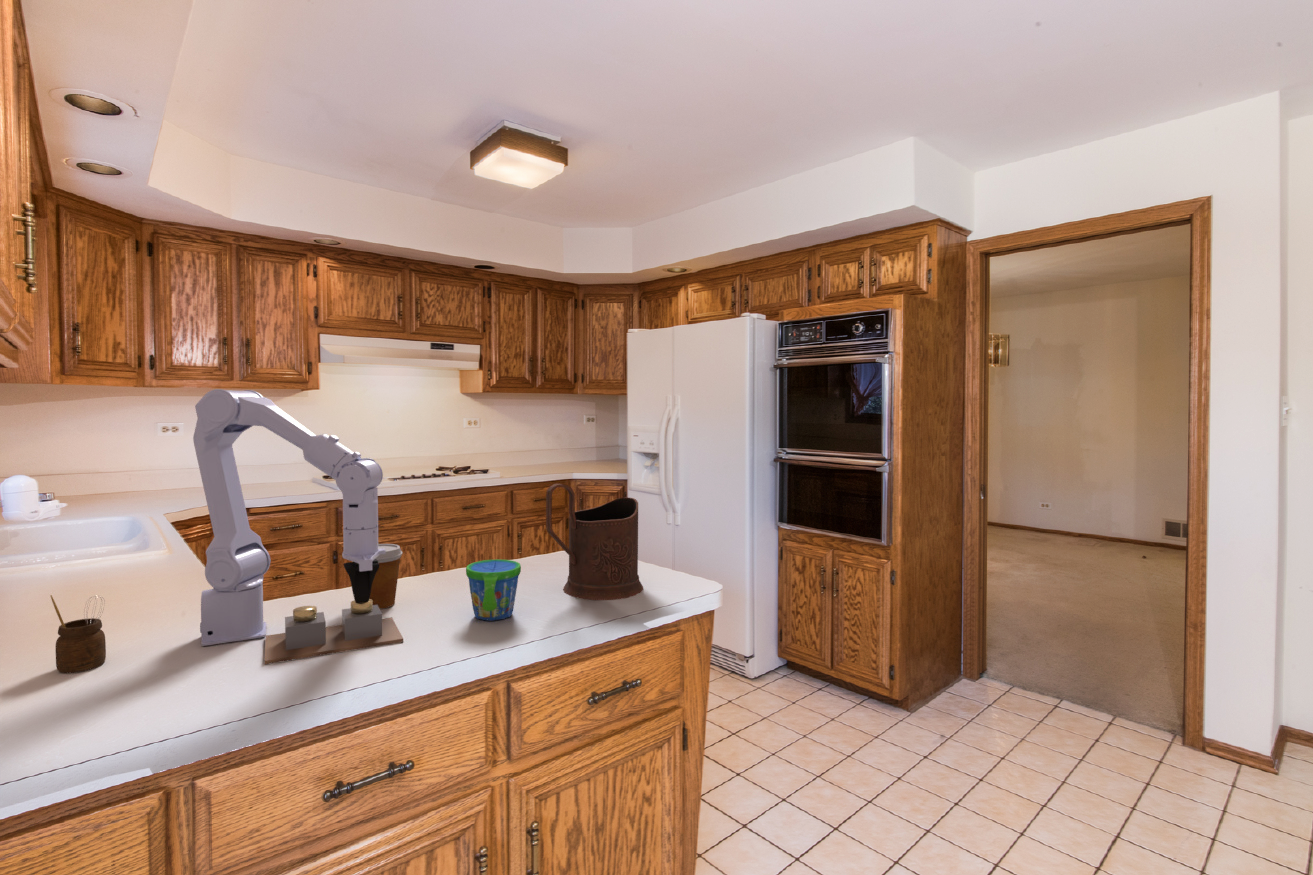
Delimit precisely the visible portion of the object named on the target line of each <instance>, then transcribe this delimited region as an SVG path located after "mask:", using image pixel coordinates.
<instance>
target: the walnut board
mask: <svg viewBox="0 0 1313 875" xmlns="http://www.w3.org/2000/svg"><path fill="white" fill-rule="evenodd" d="M394 620H395V619H393V617H385V618H382V635H380V636H374V637H368V638H361V639H355V640H348V641H345V639H344V635H343V632H342V624H337V625H330V626H326V644H323V645H316V646H310V647H304V648H297V649H291V650H286V642H285V632H282V633H276V634H275V633H274V634H268V635H267V634H266V636H265V642H264V644H265V645H264V646H265V648H264V665H269V663H271V664H276V663H277V664H278V663H282V662H283V663H284V662H288V661H287V660H289V661H293V660H292V659H295V660H301V659H307V658H313V657H314V658H315V657H319V656H320V657H321V656H324V655H325V656H326V655H331V654H338V653H342V652H343V653H344V652H349V651H350V652H351V651H356V650H362V649H367V648H368V649H369V648H374V647H380V646H386V645H392V644H398V643H404V638H403V635H402V633H401V631H400V629H399V628H398V626H397V624H396V622H395V621H394Z"/></svg>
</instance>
